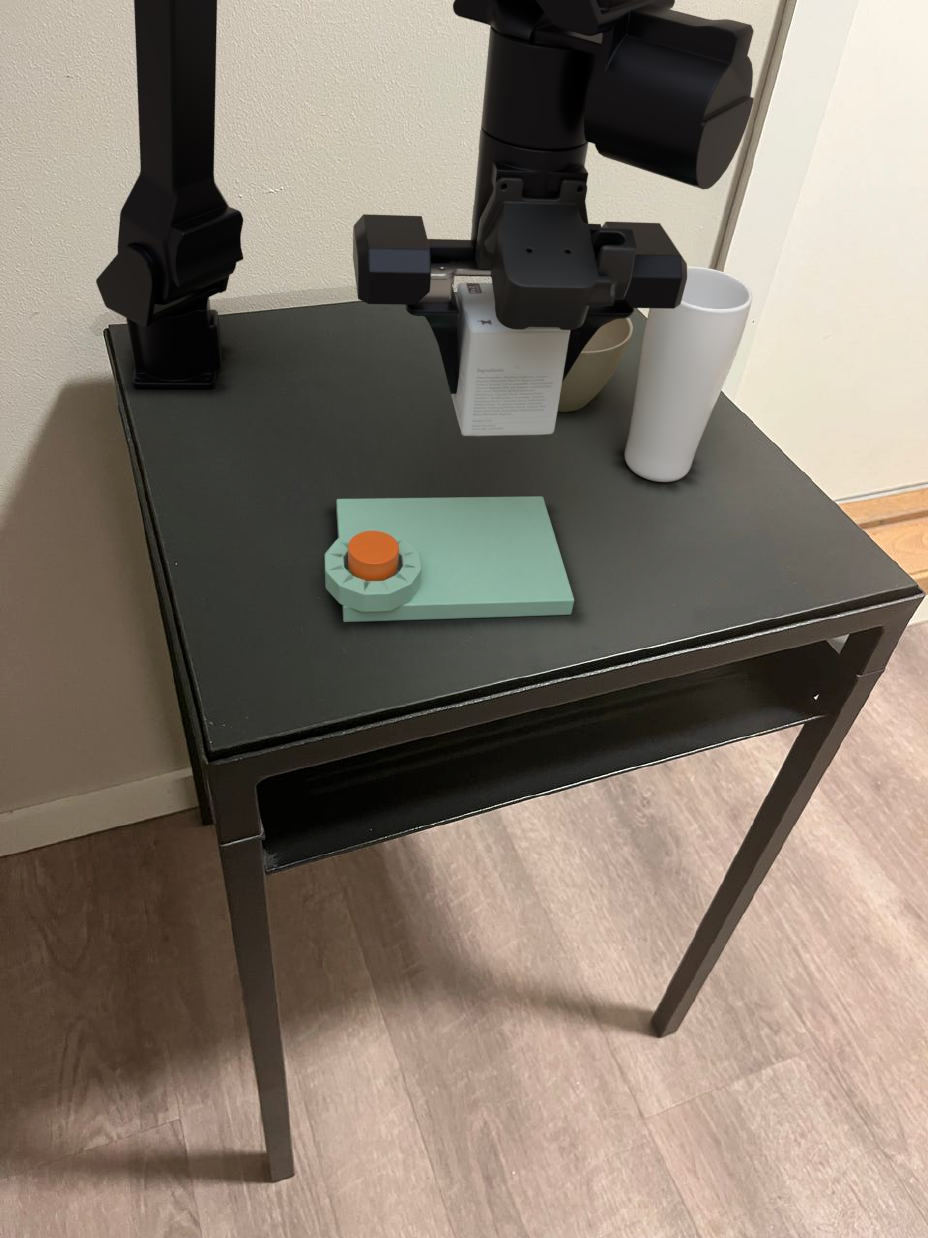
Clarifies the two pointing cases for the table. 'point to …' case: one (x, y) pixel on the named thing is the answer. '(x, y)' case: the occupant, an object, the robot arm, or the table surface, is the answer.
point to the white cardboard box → (505, 370)
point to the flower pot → (595, 364)
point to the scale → (452, 559)
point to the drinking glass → (684, 372)
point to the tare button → (373, 555)
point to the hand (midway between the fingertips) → (501, 390)
